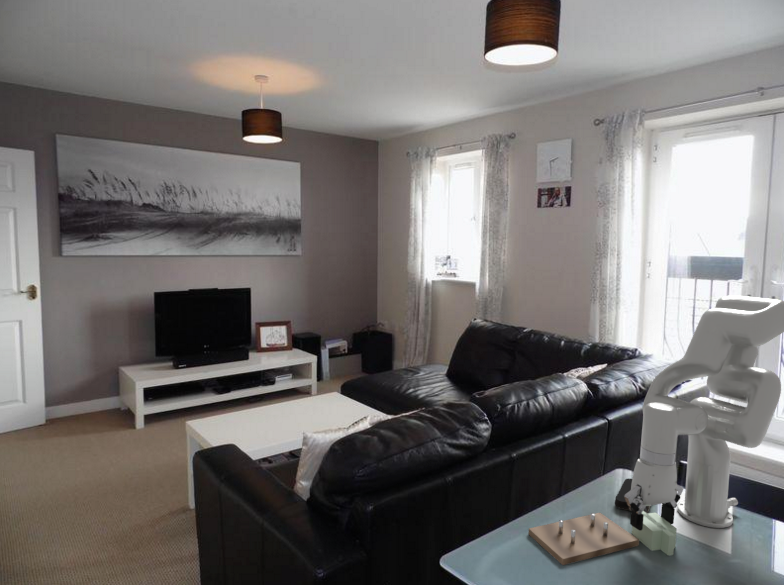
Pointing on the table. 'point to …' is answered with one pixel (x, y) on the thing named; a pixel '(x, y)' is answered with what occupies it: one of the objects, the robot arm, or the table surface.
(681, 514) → the robot arm
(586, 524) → the pin plate
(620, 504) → the black sponge
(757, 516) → the table surface
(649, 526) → the green grooved block
